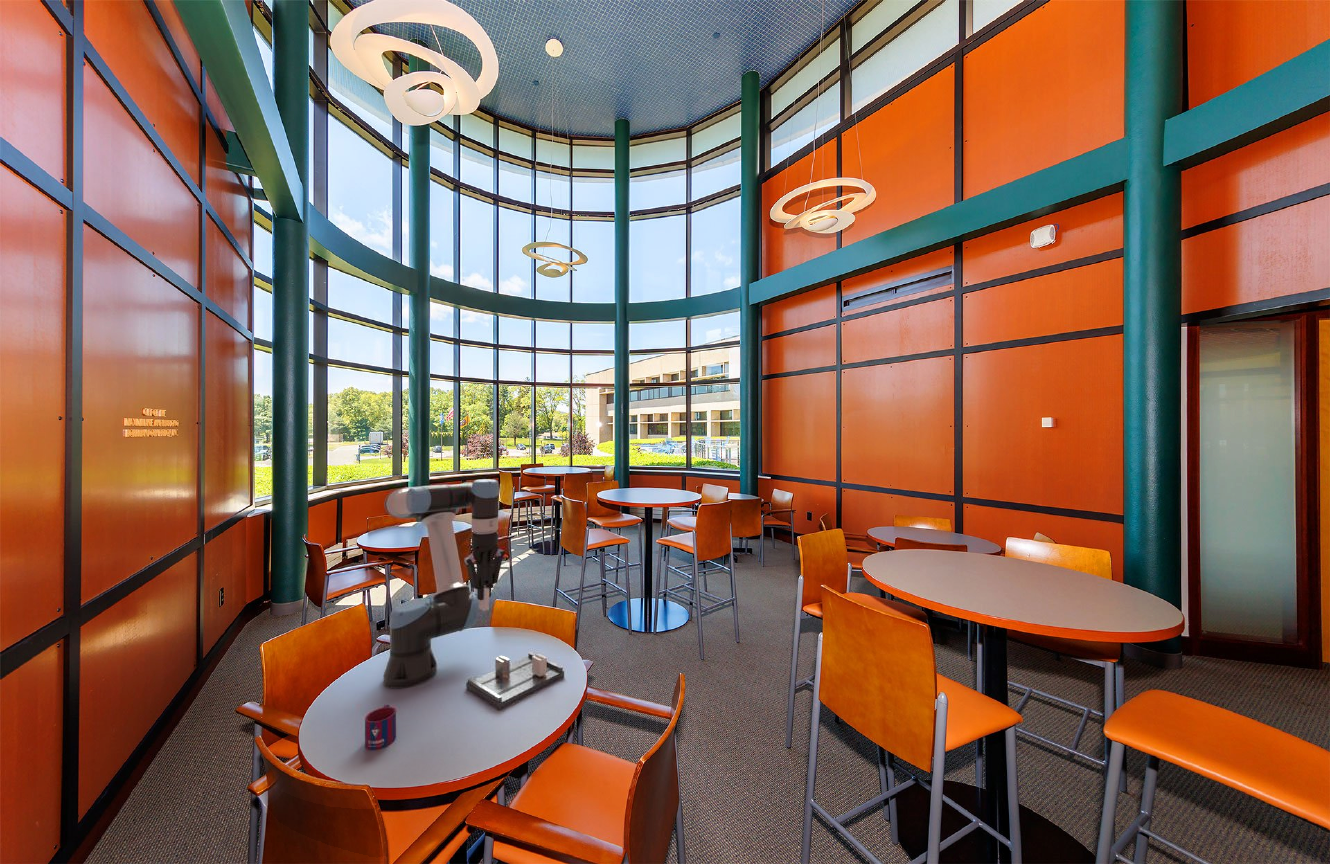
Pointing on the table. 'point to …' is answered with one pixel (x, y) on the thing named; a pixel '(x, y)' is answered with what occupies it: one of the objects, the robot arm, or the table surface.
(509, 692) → the console
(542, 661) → the fader tab
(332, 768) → the table surface
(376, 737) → the mug
